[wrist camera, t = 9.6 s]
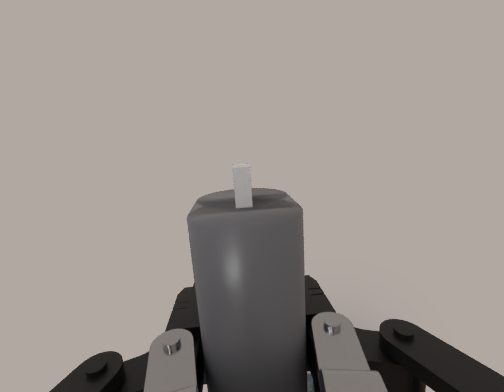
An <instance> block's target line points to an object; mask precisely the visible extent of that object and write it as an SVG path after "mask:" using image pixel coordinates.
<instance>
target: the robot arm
mask: <svg viewBox="0 0 504 392" xmlns="http://www.w3.org/2000/svg"><path fill="white" fill-rule="evenodd" d="M304 277H305V317H306V357H307V371H310V372H311V375H312V377H313V392H425V388H426V385H427V386H429V387H430V388H431V389H432V390H434V391H435V392H504V376H502V375H500V374H499V373H497V372H495V371H493V370H492V369H490V368H488V367H486V366H485V365H483V364H481V363H480V362H478V361H476V360H475V359H473V358H471V357H469V356H468V355H466V354H464V353H462V352H461V351H459V350H457V349H455V348H454V347H452V346H451V345H449V344H447V343H445V342H443V341H442V340H440V339H438V338H437V337H435V336H433V335H431V334H430V333H428V332H426V331H425V330H423V329H421V328H420V327H418V326H416V325H414V324H412V323H410V322H407V321H404V320H398V319H389V320H386V321H384V322H382V323H381V324H380V330H379V331H371V330H362V329H358V328H355V327H353V324H352V323H351V321H350V320H349V319H348V318H346V317H345V316H343V315H341V314H338V313H336V312H335V310H334V309H333V307H332V305H331V304H330V302H329V300H328V299H327V297H326V296H325V294H324V292H323V291H322V289H321V288H320V286H319V284H318V283H317V281H316V280H314V279H313V278H312V277H310V276H309V275H306V276H304ZM203 384H207V380H206V371H205V363H204V355H203V347H202V338H201V330H200V322H199V314H198V306H197V297H196V289H195V282H194V286H193V287H188V288H184V289H183V290H182V291H181V292H180V293H179V294H178V296H177V299H176V301H175V305H174V307H173V311H172V313H171V316H170V319H169V322H168V325H167V328H166V330H165V332H164V333H162V334H161V335H159V336H158V337H157V338H156V339H155V340H154V341H153V342H152V344H151V346H150V351H149V352H147V353H146V354H143V355H141V356H139V357H136V358H133V359H130V360H127V361H124V362H123V360H122V356H121V355H120V354H119V353H117V352H113V351H108V352H103V353H99V354H97V355H95V356H92V357H90V358H89V359H87V360H86V361H84V362H83V363H82V364H80V365H79V366H78V367H77V368H76V369H75V370H73V371H72V372H71V373H70V374H69V375H68V376H67V377H66V378H65V379H63V380H62V381H61V382H60V383H59V384H58V385H57V386H55V387H54V388H53V389H52V390H51V391H50V392H202V390H203Z"/></svg>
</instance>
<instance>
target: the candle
mask: <svg viewBox="0 0 504 392" xmlns="http://www.w3.org/2000/svg"><path fill="white" fill-rule="evenodd" d="M233 178H234V190H227V191H220V192H215V193H211V194H208V195H205V196H202V197H200V198H199V199H198V200H197V201H196V203H195V204H194V206H193V208H192V209H191V211H190V213H189V214H188V217H187V223H188V232H189V240H190V248H191V256H192V264H193V272H194V281H195V289H196V297H197V306H198V314H199V322H200V330H201V338H202V347H203V355H204V363H205V371H206V380H207V388H208V392H307V357H306V317H305V277H304V237H303V209H302V208H301V206H300V205H299V204H298V203H296V202H295V201H294V200H293V199H292V198H291V197H290V196H289V195H288V194H287V193H285V192H283V191H280V190H276V189H266V188H251V174H250V166H249V165H248V164H247V163H246V164H233Z"/></svg>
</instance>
